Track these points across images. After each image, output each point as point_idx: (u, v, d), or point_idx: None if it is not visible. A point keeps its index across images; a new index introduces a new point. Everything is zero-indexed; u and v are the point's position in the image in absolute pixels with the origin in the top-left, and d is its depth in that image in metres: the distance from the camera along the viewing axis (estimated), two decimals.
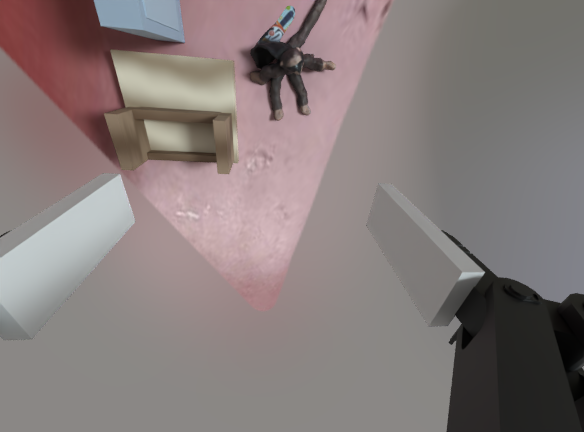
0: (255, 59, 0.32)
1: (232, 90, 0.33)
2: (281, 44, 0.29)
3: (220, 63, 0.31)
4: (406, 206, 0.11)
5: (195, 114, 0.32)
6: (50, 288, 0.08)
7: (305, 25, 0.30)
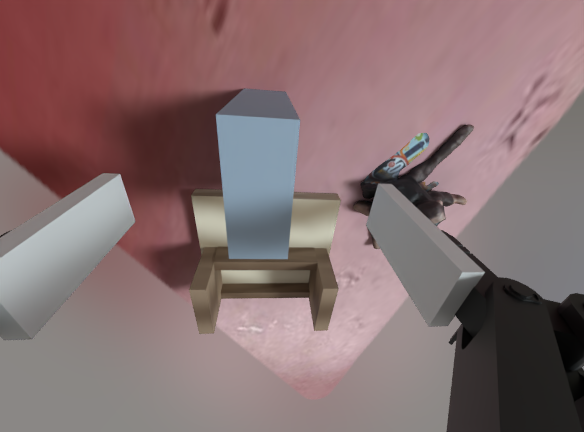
0: (366, 193, 0.25)
1: (332, 227, 0.26)
2: (412, 189, 0.23)
3: (325, 203, 0.25)
4: (406, 206, 0.11)
5: (290, 263, 0.25)
6: (50, 288, 0.08)
7: (438, 158, 0.24)
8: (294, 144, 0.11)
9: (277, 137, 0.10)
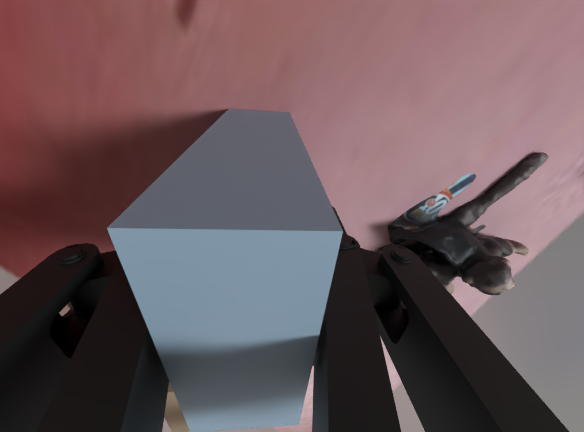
0: (396, 239, 0.19)
1: None
2: (464, 240, 0.16)
3: None
4: None
5: None
6: None
7: (495, 196, 0.18)
8: (324, 278, 0.04)
9: (281, 267, 0.04)
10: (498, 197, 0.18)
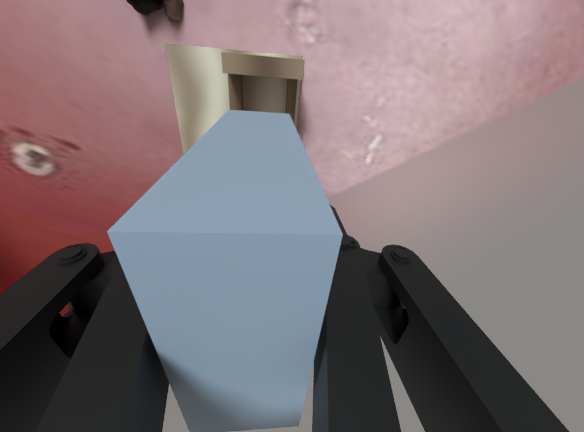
0: (149, 6, 0.23)
1: (201, 49, 0.24)
2: None
3: (172, 62, 0.25)
4: None
5: (230, 105, 0.25)
6: None
7: None
8: (324, 281, 0.04)
9: (281, 270, 0.04)
10: None
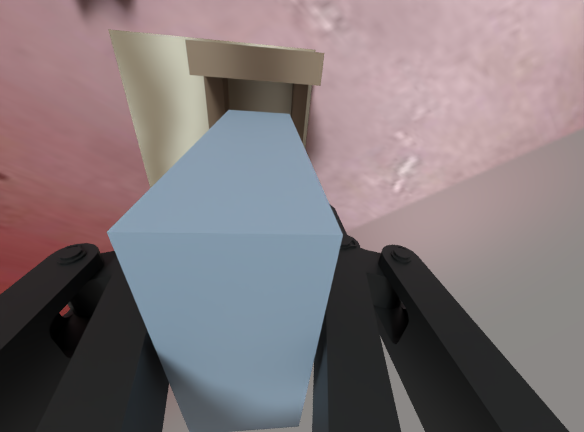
0: None
1: (164, 39, 0.16)
2: None
3: (122, 58, 0.17)
4: None
5: (210, 121, 0.17)
6: None
7: None
8: (324, 281, 0.04)
9: (281, 270, 0.04)
10: None
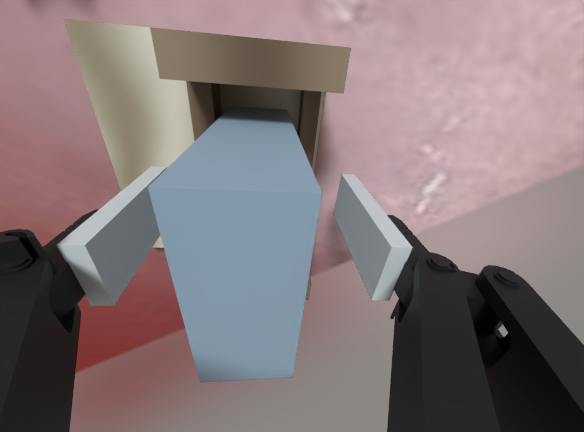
0: None
1: (137, 31, 0.13)
2: None
3: (84, 57, 0.13)
4: (361, 193, 0.11)
5: (196, 137, 0.13)
6: (124, 263, 0.09)
7: None
8: (309, 233, 0.06)
9: (276, 223, 0.05)
10: None
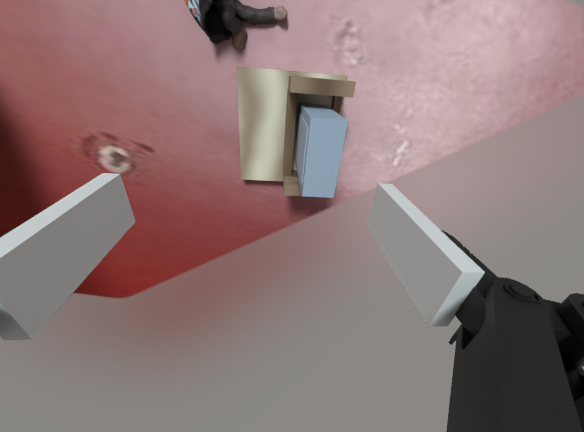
0: (220, 38, 0.28)
1: (265, 70, 0.30)
2: None
3: (240, 81, 0.30)
4: (406, 206, 0.11)
5: (287, 116, 0.30)
6: (50, 288, 0.08)
7: None
8: (344, 132, 0.22)
9: (336, 128, 0.22)
10: None
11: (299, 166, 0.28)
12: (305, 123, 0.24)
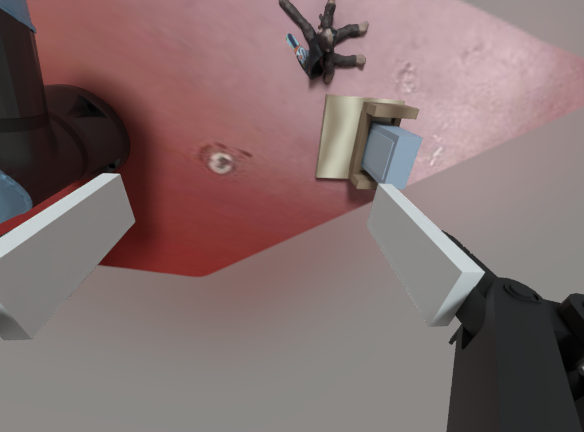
0: (316, 75, 0.39)
1: (347, 98, 0.41)
2: (312, 48, 0.35)
3: (328, 105, 0.41)
4: (406, 206, 0.11)
5: (362, 131, 0.41)
6: (50, 288, 0.08)
7: (299, 21, 0.35)
8: (419, 145, 0.34)
9: (414, 143, 0.34)
10: (300, 18, 0.35)
11: (375, 167, 0.40)
12: (388, 138, 0.36)
